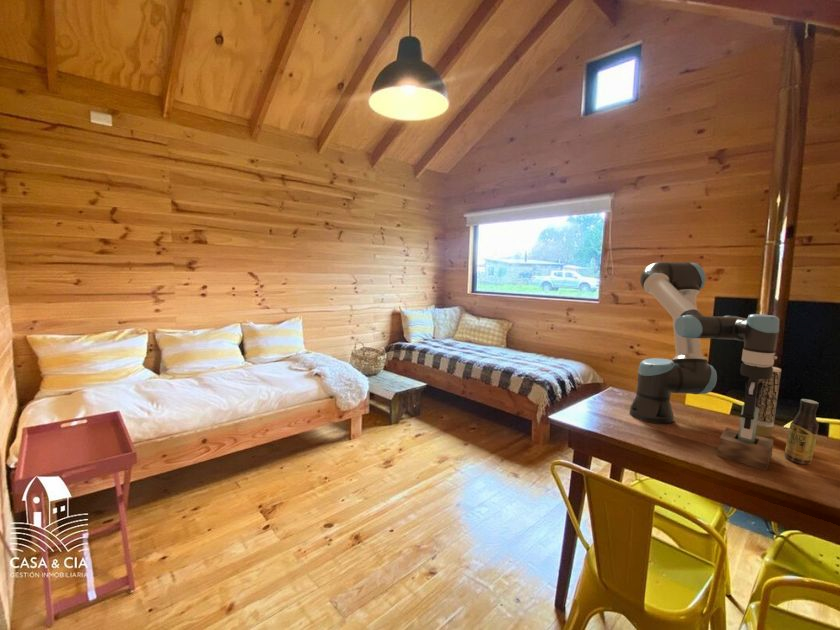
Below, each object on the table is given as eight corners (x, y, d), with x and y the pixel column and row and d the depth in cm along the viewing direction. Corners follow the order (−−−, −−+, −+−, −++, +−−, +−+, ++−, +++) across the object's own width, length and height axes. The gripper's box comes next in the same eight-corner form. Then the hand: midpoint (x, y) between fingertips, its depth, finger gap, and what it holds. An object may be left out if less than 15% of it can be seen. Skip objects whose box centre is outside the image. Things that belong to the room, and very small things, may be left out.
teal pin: (735, 448, 124) (741, 406, 122) (738, 444, 126) (743, 403, 125) (751, 453, 121) (757, 410, 119) (754, 449, 123) (760, 407, 122)
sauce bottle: (778, 455, 125) (787, 396, 122) (796, 455, 125) (805, 396, 123) (800, 466, 118) (810, 404, 116) (818, 465, 119) (828, 404, 116)
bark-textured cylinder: (776, 438, 138) (786, 370, 134) (755, 437, 139) (764, 369, 135) (763, 430, 144) (772, 365, 141) (743, 429, 145) (751, 364, 142)
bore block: (717, 455, 124) (719, 437, 123) (724, 444, 132) (726, 427, 131) (766, 470, 115) (769, 451, 115) (771, 457, 124) (773, 439, 123)
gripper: (770, 371, 111) (758, 448, 114) (776, 362, 123) (765, 432, 126) (736, 366, 117) (727, 439, 120) (745, 357, 128) (736, 424, 131)
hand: (747, 435), depth 123 cm, fingers closed on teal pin, 4 cm apart
